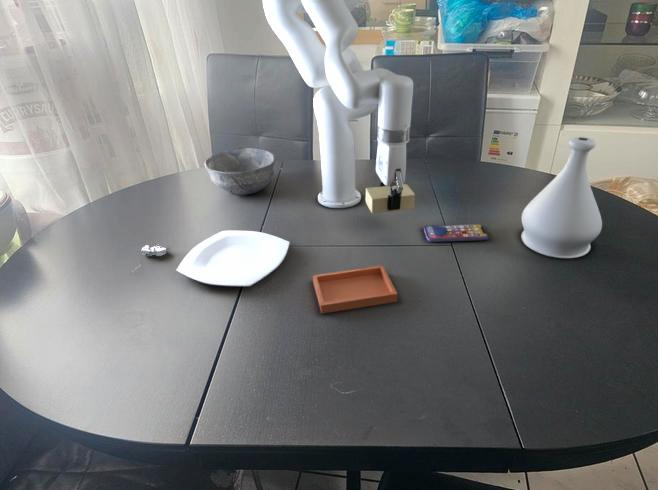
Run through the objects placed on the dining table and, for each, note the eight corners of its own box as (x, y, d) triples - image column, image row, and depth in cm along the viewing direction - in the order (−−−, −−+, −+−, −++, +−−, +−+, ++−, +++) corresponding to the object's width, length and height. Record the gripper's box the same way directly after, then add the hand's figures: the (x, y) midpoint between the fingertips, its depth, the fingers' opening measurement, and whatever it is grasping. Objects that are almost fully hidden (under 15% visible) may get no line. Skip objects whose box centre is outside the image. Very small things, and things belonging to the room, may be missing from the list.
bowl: (260, 208, 127) (256, 175, 121) (197, 201, 132) (190, 169, 126) (288, 180, 143) (285, 149, 138) (231, 174, 148) (226, 145, 143)
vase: (504, 228, 114) (523, 130, 100) (565, 220, 117) (593, 123, 102) (542, 265, 100) (571, 156, 86) (611, 254, 103) (650, 148, 88)
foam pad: (365, 201, 116) (365, 187, 114) (405, 197, 118) (406, 183, 116) (371, 213, 111) (372, 199, 109) (413, 209, 113) (415, 194, 111)
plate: (255, 300, 92) (253, 293, 91) (163, 280, 99) (161, 273, 98) (302, 245, 110) (301, 238, 108) (222, 231, 117) (220, 225, 115)
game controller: (170, 247, 110) (168, 238, 109) (156, 274, 101) (153, 265, 99) (147, 248, 110) (144, 239, 109) (130, 275, 101) (127, 266, 99)
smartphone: (422, 228, 115) (480, 226, 115) (427, 242, 109) (489, 240, 109) (423, 225, 114) (481, 223, 115) (428, 239, 108) (489, 237, 108)
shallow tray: (313, 283, 97) (312, 275, 95) (382, 273, 99) (382, 265, 98) (321, 313, 88) (320, 305, 87) (397, 301, 90) (397, 293, 89)
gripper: (368, 123, 110) (366, 189, 120) (388, 148, 96) (384, 220, 107) (397, 121, 111) (393, 187, 122) (421, 145, 97) (414, 217, 108)
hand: (389, 202), depth 114 cm, fingers closed on foam pad, 6 cm apart
